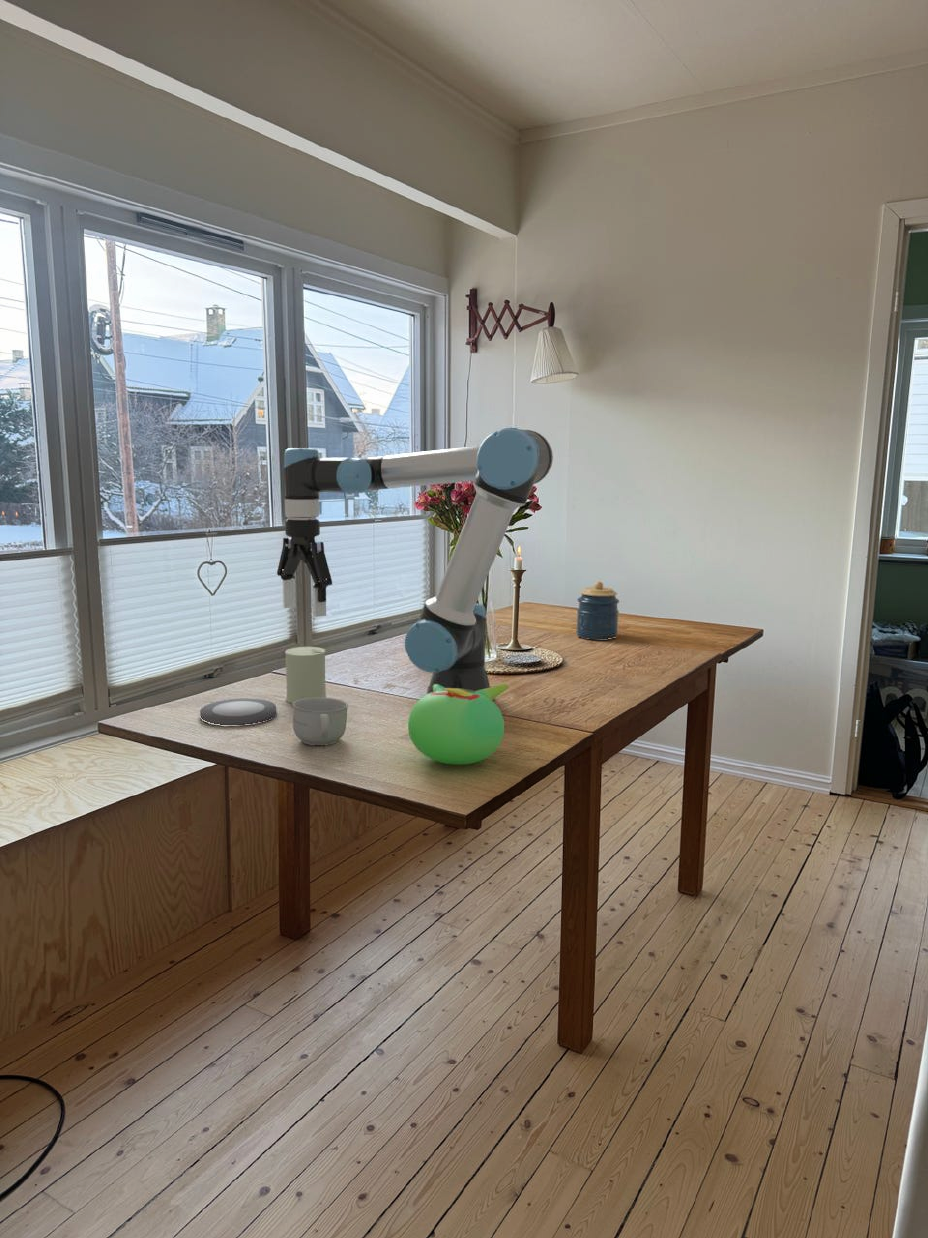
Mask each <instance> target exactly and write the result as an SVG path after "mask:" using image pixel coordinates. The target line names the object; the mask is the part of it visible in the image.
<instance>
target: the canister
mask: <svg viewBox="0 0 928 1238" xmlns="http://www.w3.org/2000/svg"><path fill="white" fill-rule="evenodd" d="M580 594H581V596H579V597H578V598H577V602H578V608H577V610H576V611H577V619H576V621H577V623H576V629H575V630H576V636H577V635H578V636H579V637H578V636H577V637H578V638H580V637H583V638H589V639H608V638H613V637H616V636H617V637H618V634H619V632H618V631H619V629H618V623H619V622H618V621H619V612H620V610H619V609H618V604H619V602H620V599H618V598H617V596H616V595H617V594H618V593H617V591H615V590H613V588H611V587H605V586H604V584H603V582H602V581H598V580H597V581H596V582H595V584H594V586H589V587H584V589H583V590H580ZM617 637H616V638H617ZM583 638H582V639H583Z"/></svg>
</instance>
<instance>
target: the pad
mask: <svg viewBox="0 0 928 1238" xmlns="http://www.w3.org/2000/svg"><path fill="white" fill-rule="evenodd" d="M199 714H200V716H201V718H202V719H203V720H205V721H207V722H210V723H214V724H220V725H245V724H253V723H258V722H263V721H266V720H269V719H271V718H273V717H274V718H275V717H276V716H277V706H276V704H275V703H274V702H271V701H269V700H266V699H259V698H231V699H224V700H223V699H222V700H220V701H215V702H211V703H209V704H207V705H204V706H203V707H202V708H200V711H199ZM275 715H276V716H275ZM201 718H200V719H201ZM274 718H273V719H274ZM271 720H272V719H271ZM269 721H270V720H269ZM266 722H267V721H266ZM263 723H264V722H263Z"/></svg>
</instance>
